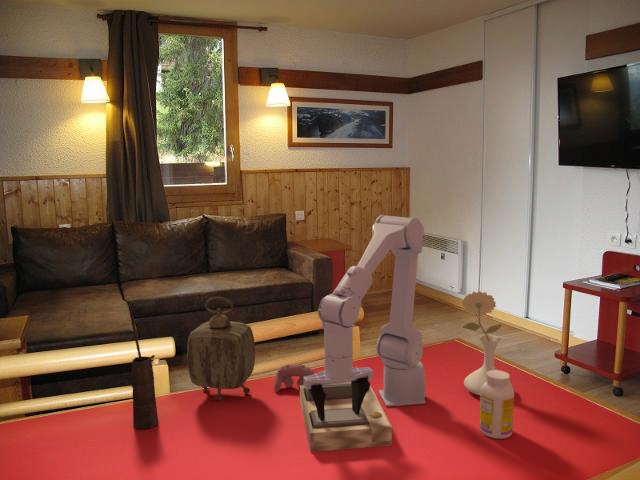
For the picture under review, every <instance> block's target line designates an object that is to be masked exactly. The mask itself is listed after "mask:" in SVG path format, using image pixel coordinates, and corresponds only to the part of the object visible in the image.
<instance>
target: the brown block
mask: <svg viewBox="0 0 640 480" xmlns="http://www.w3.org/2000/svg"><path fill="white" fill-rule="evenodd" d="M324 411H325V419H324V420H323V421H321V420H320V419H319V417H318V413H317V410H313V411H311V424H312V428H313V429H315V428H329V427H342V426H356V425H368V420H367V418H366V415H365V413H364V411H363V409H362V407H361V408H360V412H359V414H357V415H356V414H355V413H354V411H353V410H352V408H341V409H327V410H324Z"/></svg>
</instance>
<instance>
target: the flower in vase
mask: <svg viewBox="0 0 640 480" xmlns="http://www.w3.org/2000/svg"><path fill="white" fill-rule="evenodd" d="M461 305H462V307H463V308H464V311H465V312H467V313H468V314H472V315H475V316H478V324H477V323H475V322H469V323H468V322H467V323H465V325H463V326H462V328H463V329H467V330H471V331H477V330H479V329H481V330H482V332H483V334H481V335H480V336H478V337H479V340H480V341H481V343H482V345H483V350H484V351H483V352H484V353H483V355H484V360H483V364H482V366H481V367H480V368H478V369H476V370H475V371H472V372H470V374H469V375H467V376H466V377H465V379H464V380H463V385H464V386H465V388H466V390H467V391H469V392H471V393H472V394H475V395H477V396H480V397H481V387H482V385H483V384H484V383H486V382H487V380H486V373H487V372H488V371H491V370H498V369H497V367H496V366H495V353H496V349H497V345H498V344H499V343H500V341H501V340H502V338H501V337H500V336H498V335H495V334H493V333H496V332H497V331H499V330H500V328H501V327H502V323H500V324H496V325H491V326H489V327H488V329H486V331H485V330H484V328H483V326H482V323H481V316H482V315H486V314H491V313H492V312H493V311H494V309H495V307H496V308H497V305H496V301H495V298H494V297H493V295H489V294H488V293H487V292H486V291H484V292H482V291H478V292H476V291H472V293H468V294H467V295H465V297H463V300H462V301H461ZM508 385H510V386H511V387H512V388H513V385H512V382H511V381H510V382H509V384H508Z"/></svg>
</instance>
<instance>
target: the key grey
mask: <svg viewBox="0 0 640 480" xmlns="http://www.w3.org/2000/svg"><path fill="white" fill-rule="evenodd" d="M322 388H323V391H324V392H325V393H326V397H325V400H334V399H349V398H352V385H351V381H350V382H347V383H336V384H329V385H323V386H322ZM305 394H306V398H307V401H314V399H313V397H312V395H311V393H310V390H309V389H306V388H305Z"/></svg>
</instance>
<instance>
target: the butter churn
mask: <svg viewBox="0 0 640 480" xmlns="http://www.w3.org/2000/svg"><path fill="white" fill-rule="evenodd" d="M127 305H128V310H129V316H130V320H131V325H132V330H133V331H132V332H133V336H134V340H135V345H136V349H137V356H135V357H134V358H133V359H132V361H131V388H132V420H133V421H132V423H133V427H134V428H135V429H137V430H146V429H148V428H153V427H155V426H156V425H157V424H158V423H159V417H158V416H159V415H158V407H157V401H156V399H157V398H156V390H155V389H156V388H155V375H154V374H155V373H154V370H153V360H152V359H154V358H155V357H156V356H155V355H154V354H153V355H151V356H142V354H141V350H140V349H141V348H140V344H139V343H140V342H139V340H138V339H139V338H138V334H137V330H136V329H137V328H136V323H135V317H134V314H133V310H132V305H131V301H130V300H127Z"/></svg>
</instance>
